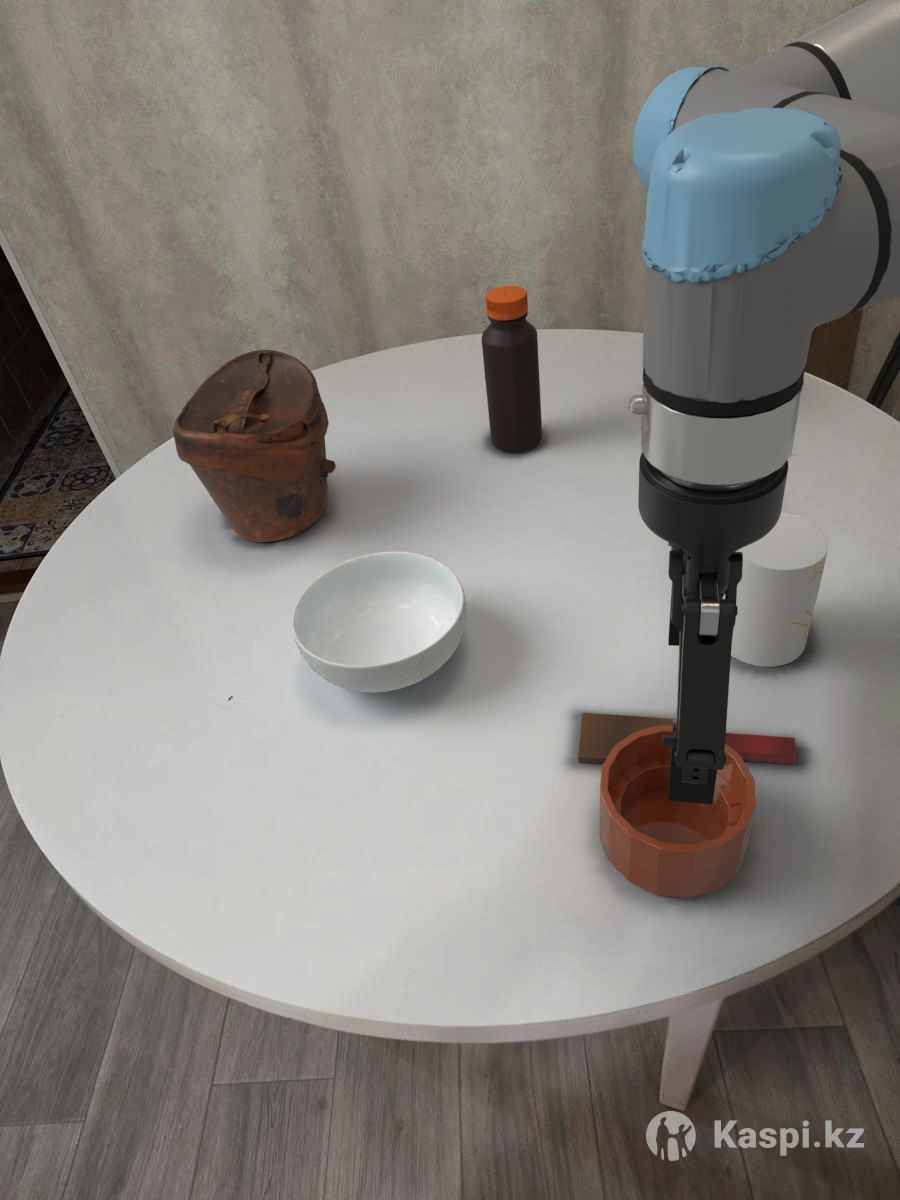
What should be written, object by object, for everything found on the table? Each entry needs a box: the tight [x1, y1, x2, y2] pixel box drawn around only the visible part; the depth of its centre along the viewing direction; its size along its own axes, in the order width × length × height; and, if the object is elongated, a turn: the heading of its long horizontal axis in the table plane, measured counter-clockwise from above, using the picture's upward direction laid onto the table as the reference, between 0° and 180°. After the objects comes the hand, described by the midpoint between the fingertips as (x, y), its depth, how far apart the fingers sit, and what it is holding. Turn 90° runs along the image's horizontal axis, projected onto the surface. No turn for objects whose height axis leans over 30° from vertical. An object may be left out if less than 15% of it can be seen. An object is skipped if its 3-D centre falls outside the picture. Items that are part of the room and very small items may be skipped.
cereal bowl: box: [291, 550, 467, 694], centre depth 86 cm, size 17×17×7 cm
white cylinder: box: [722, 511, 830, 668], centre depth 80 cm, size 8×8×12 cm
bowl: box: [599, 725, 757, 899], centre depth 67 cm, size 11×11×7 cm
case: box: [172, 349, 337, 543], centre depth 103 cm, size 18×20×18 cm
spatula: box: [577, 712, 797, 765], centre depth 75 cm, size 18×5×1 cm, turn 79°
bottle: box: [481, 285, 543, 454], centre depth 108 cm, size 7×7×20 cm
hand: (688, 714), depth 59 cm, fingers open, 13 cm apart
